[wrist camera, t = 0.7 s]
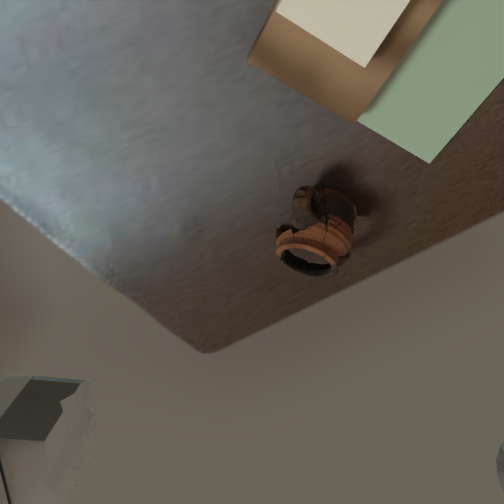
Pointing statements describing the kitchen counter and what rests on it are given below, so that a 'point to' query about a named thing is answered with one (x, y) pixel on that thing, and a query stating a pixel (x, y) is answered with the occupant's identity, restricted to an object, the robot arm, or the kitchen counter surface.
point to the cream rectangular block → (345, 23)
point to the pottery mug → (318, 231)
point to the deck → (334, 60)
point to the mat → (441, 77)
